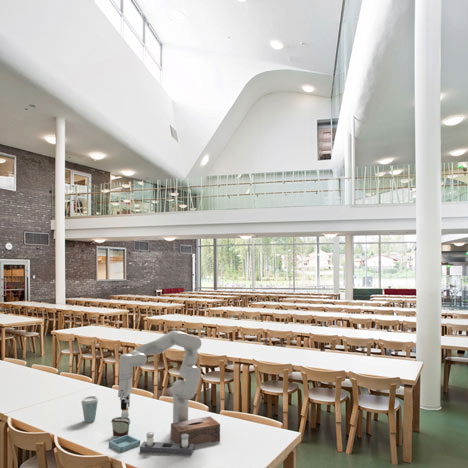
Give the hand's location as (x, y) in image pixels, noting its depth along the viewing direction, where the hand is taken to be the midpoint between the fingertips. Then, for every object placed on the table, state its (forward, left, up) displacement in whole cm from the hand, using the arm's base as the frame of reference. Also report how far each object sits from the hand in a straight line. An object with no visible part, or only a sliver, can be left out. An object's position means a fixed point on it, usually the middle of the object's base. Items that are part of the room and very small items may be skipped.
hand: (125, 407), depth 245 cm
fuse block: (-12, +24, -22) cm, 35 cm away
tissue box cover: (-34, +23, -22) cm, 47 cm away
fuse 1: (-6, +16, -21) cm, 27 cm away
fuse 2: (-18, +32, -21) cm, 42 cm away
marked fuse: (0, 0, -5) cm, 5 cm away
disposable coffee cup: (-7, -53, -22) cm, 58 cm away
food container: (-9, -16, -22) cm, 29 cm away
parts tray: (0, 0, -22) cm, 22 cm away
